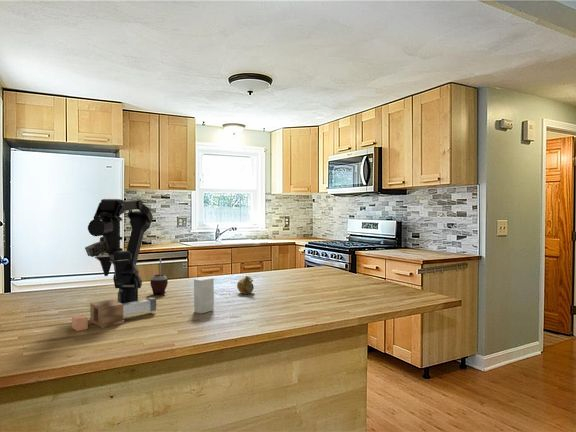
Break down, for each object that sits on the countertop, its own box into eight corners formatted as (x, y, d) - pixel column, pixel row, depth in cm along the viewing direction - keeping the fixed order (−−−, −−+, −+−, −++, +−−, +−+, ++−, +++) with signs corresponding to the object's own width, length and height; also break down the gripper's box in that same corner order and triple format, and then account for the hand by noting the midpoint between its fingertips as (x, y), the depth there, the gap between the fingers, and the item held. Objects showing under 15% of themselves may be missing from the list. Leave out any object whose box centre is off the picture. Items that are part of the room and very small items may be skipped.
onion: (255, 291, 181) (256, 273, 180) (252, 295, 173) (252, 277, 172) (239, 291, 181) (239, 273, 181) (235, 295, 173) (235, 276, 173)
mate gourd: (156, 296, 169) (156, 261, 169) (146, 293, 174) (145, 259, 174) (171, 293, 175) (171, 259, 175) (160, 291, 180) (160, 257, 180)
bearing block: (110, 317, 138) (110, 299, 138) (124, 323, 132) (124, 304, 132) (89, 321, 133) (89, 302, 133) (102, 328, 127) (102, 308, 126)
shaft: (151, 308, 146) (151, 297, 146) (156, 310, 144) (156, 298, 144) (101, 318, 133) (100, 306, 133) (105, 320, 130) (105, 308, 130)
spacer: (81, 314, 129) (71, 316, 127) (87, 317, 126) (77, 319, 124) (81, 326, 129) (71, 328, 127) (87, 329, 126) (77, 331, 124)
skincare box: (206, 308, 151) (206, 276, 151) (214, 310, 148) (214, 278, 148) (193, 311, 146) (193, 278, 146) (200, 313, 144) (200, 280, 143)
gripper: (77, 233, 144) (77, 277, 145) (99, 237, 132) (99, 284, 132) (108, 232, 152) (109, 273, 153) (132, 235, 140) (132, 280, 140)
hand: (111, 277), depth 144 cm, fingers open, 9 cm apart
